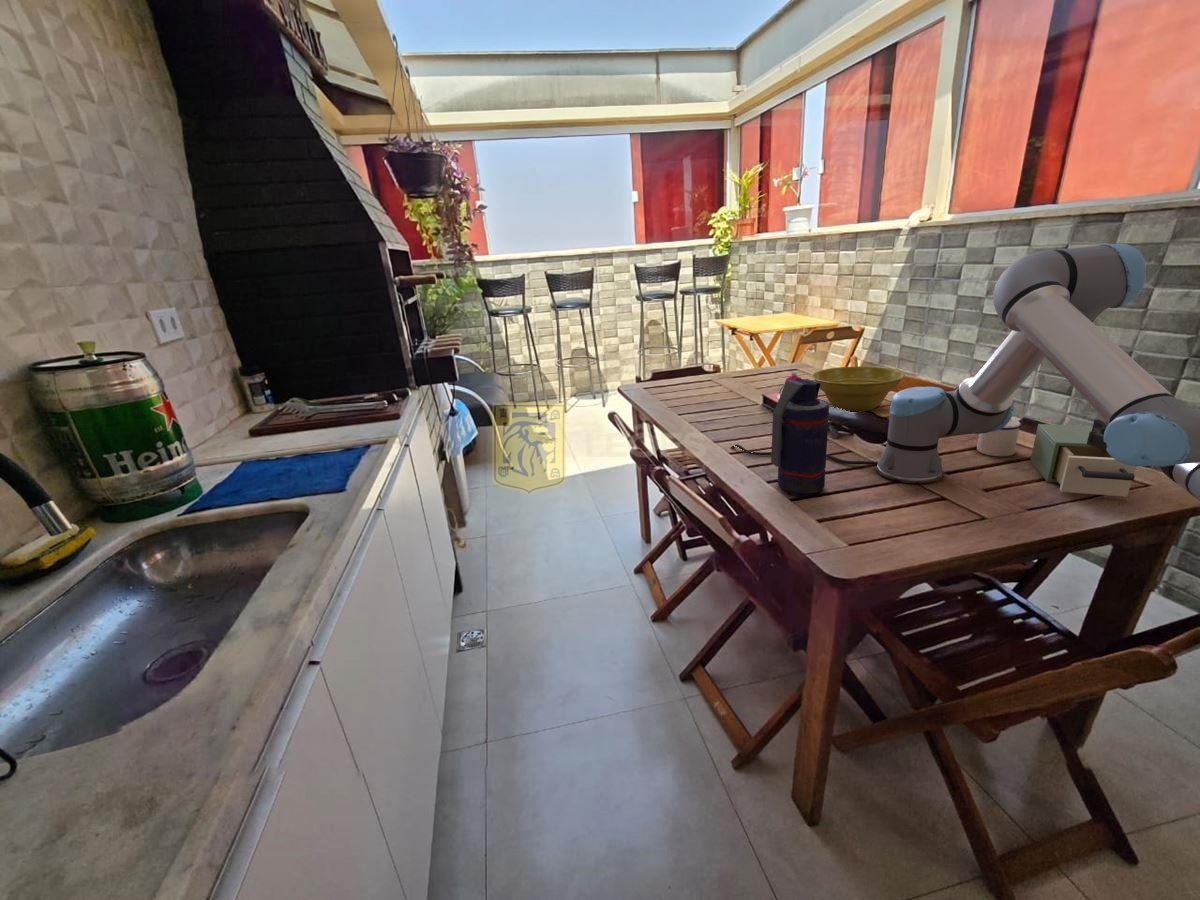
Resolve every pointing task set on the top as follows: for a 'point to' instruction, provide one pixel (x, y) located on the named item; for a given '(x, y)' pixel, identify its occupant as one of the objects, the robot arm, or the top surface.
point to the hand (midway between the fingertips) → (1141, 427)
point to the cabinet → (1056, 445)
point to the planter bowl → (857, 386)
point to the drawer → (1092, 472)
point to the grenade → (800, 437)
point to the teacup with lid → (999, 440)
